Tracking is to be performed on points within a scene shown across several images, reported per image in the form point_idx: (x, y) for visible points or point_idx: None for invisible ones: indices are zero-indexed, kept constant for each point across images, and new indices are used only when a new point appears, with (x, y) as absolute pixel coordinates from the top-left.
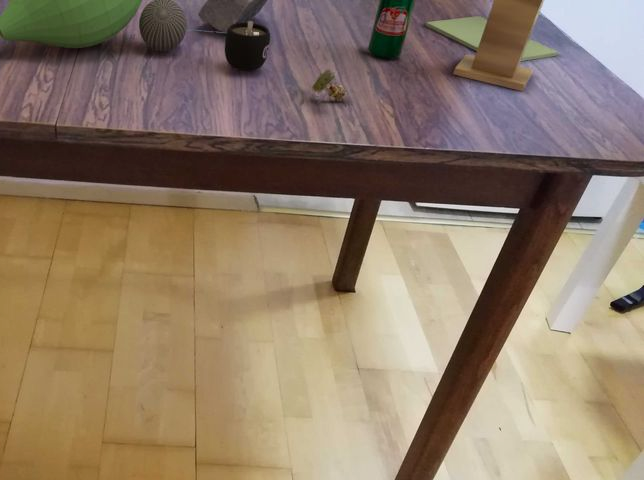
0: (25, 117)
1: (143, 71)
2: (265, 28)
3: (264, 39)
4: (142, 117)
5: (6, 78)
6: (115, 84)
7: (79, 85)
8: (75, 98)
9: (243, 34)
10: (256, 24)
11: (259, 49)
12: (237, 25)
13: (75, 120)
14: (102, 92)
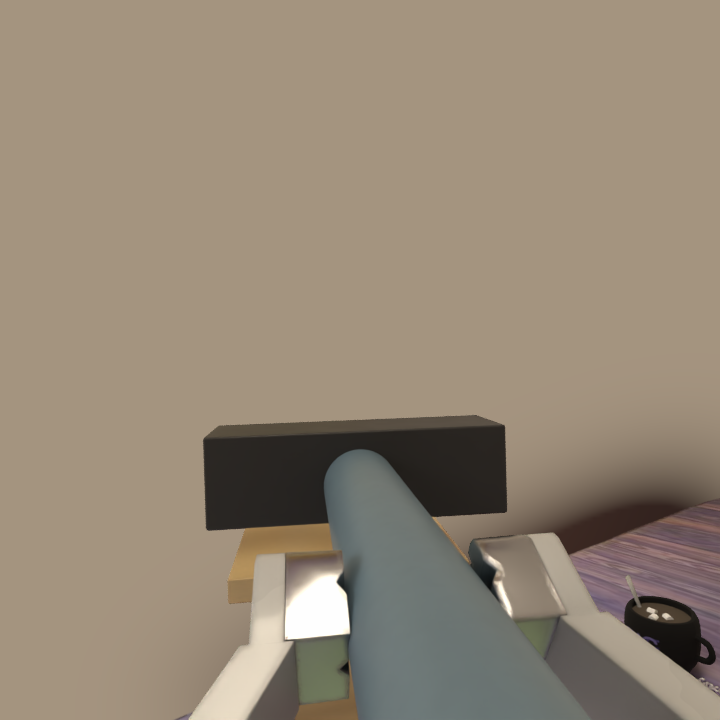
0: (619, 542)
1: (699, 610)
2: (657, 621)
3: (626, 612)
4: (577, 570)
5: (716, 556)
6: (667, 586)
7: (676, 573)
8: (644, 563)
9: (658, 610)
10: (680, 623)
11: (624, 621)
12: (691, 615)
13: (597, 551)
14: (649, 575)
